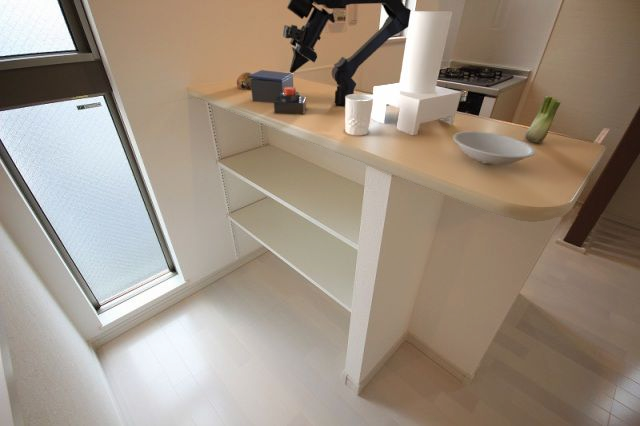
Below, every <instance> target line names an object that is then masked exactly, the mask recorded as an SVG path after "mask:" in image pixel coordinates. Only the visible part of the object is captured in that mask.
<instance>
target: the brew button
mask: <svg viewBox="0 0 640 426" xmlns="http://www.w3.org/2000/svg"><path fill="white" fill-rule="evenodd" d="M296 90H297V89H296V87H295V86H293V87H285V88H284V94H285V95H295V94H296V92H297V91H296Z"/></svg>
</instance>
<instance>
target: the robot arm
mask: <svg viewBox="0 0 640 426" xmlns="http://www.w3.org/2000/svg"><path fill="white" fill-rule="evenodd" d="M365 4H366V5H369V4H381V6H382V7H383V10H384V12H385V13H386V15H387V17H386V19H385V21H384V23H383V24H382V26H381V28H380V29H378V30H377V31H376V32H375V33H374V34H373V35H372V36H371V37H370V38H369V39H368V40H367V41H366V42H364V44H362V45H361V46H360V48H358V49H357V50H356V51H355V52H354V53H353V54H352V55H350V56H349V57H347V58H346V57H343V56H342V57H340V59H339V60H338V61H337V62H336V63H334V64H333V68H332V69H331V77H332V80H334V81H335V83H336V89H335V91H334V104H335V106H336V107H345V97H346V96H347V95H350V94H355V93H354V92H355V89H356V87H357V83H356V81H355V80H354V79H353V77H354V76H355V74H356V72H357V71H358V68H359V67H360V66H361V65H362V64H364V63H365V61H367V60H368V59H369V58H370V57H371V56H372V55H373V54H374V53H376V51H378V50H379V48H381V47H382V46H383V45H384V44H385V43H386V42H387V41H388V40H389V39H390V38H392V37H393V36H396V35H397V34H400V33H402V32H403V31H404V30H406V29H408V25H409V19H410V12H411V11H412V10H411V9H410V8H409V7H406V6H405V4H404V3H403V2H402V1H401V0H289V2H288V4H287V7H286V9H287V10H289V11H290V12H292V13H293V14H294V15H295V16H296V17H298V18H300V19H301V20H303V19H304V18H305V19H307V21H306V23H305V25H302V26H301V27H300V28H299V27H298V25H295V24H290V25H287V24H284V25H283V33H282V36H283V38H285V39H291V40H290V42H289V44H290V46H291V45H292V47H291V50H292V53H293V55H292V58H291V59H292V60H291V64H290V68H289V73H293V74H294V73H295V72H296V71H297V70H299V69H300V68H301V67H303V66H305V64H307V63H308V62H310V61H311V62H312V63H316V60H317V59H318V54H317V52H316V51H315V50H316V49H315V46H316V44H317V43H318V41H320V40H321V38H322V37H321V35H322V33H323V31H324V29H325V28H326V26H327V24H328V22H330V23H332V24H334V23H335V22H336V20H335V13H334V12H329V11H327V10H326V9H328V10H333V9H337V8H342V7H345V6H349V5H365ZM317 6H322V7H321V9H319V8H318V7H317ZM309 15H310V16H309Z"/></svg>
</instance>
